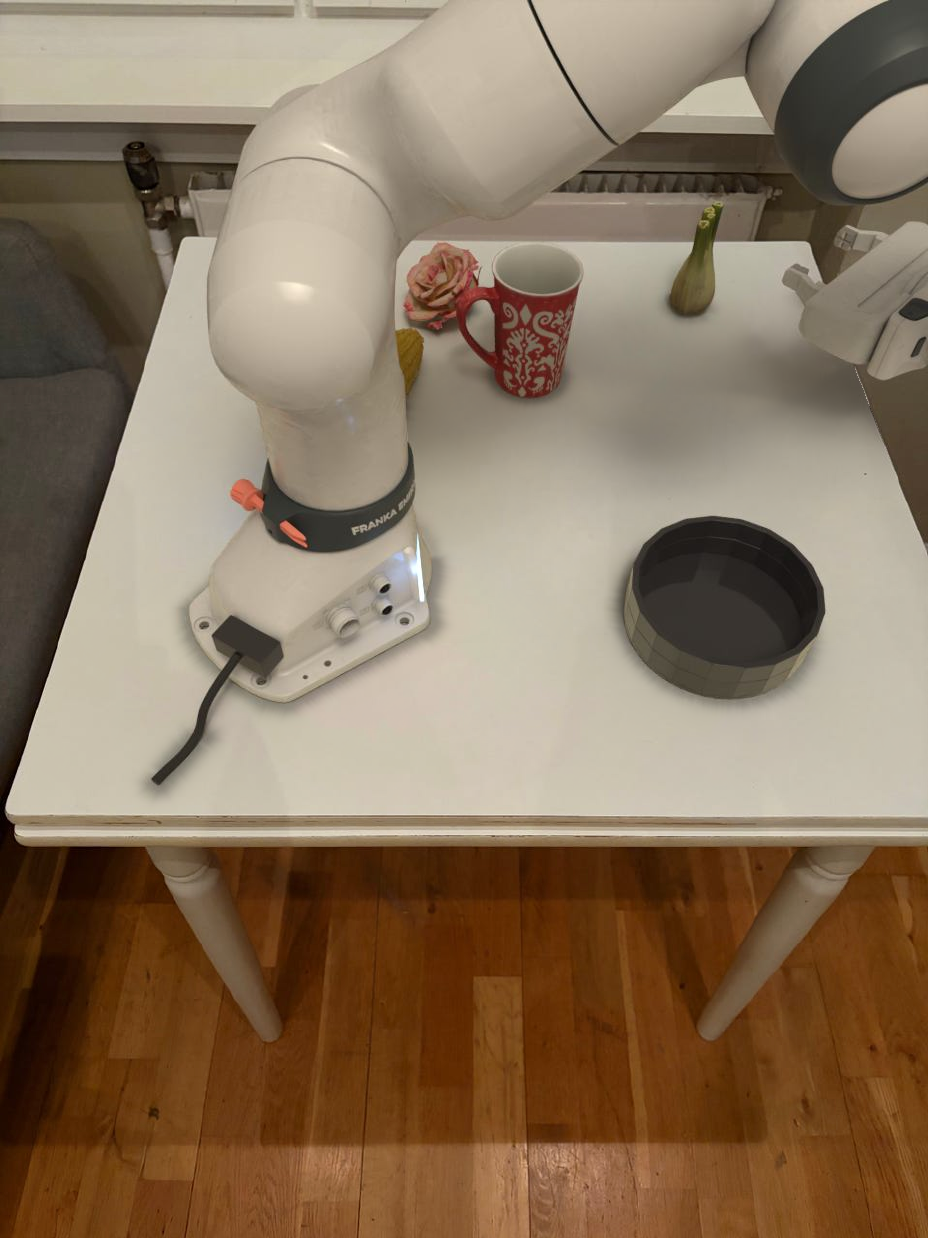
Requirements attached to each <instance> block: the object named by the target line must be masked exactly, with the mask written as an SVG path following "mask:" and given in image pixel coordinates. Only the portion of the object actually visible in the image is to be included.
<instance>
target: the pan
mask: <svg viewBox="0 0 928 1238" xmlns="http://www.w3.org/2000/svg"><path fill="white" fill-rule="evenodd" d="M624 597H625V598H624V605H623V617H624V618H623V620H624V627H625V631H626V633H627V636H628V639H629V641H630V644H631V645H632V647H633V649H634V651H635V652H636V653H637V654H638V656H639V658H640V659H641V660H642V661H643V662H644V663H645V664H646V665H647V667H648V668H650V669H651V670H652V671H653V672H654V673H655V674H656V675H657V676H659V677H660V678H662V679H663V680H665V681H667V682H668V683H670V684H671V685H673V686H675V687H677V688H679V689H680V690H681V689H682V690H684V691H686V692H689V693H691V694H695V695H698V696H702V697H706V698H713V699H720V700H721V699H722V700H741V699H742V700H743V699H749V698H753V697H757V696H759V695H763V694H766V693H768V692H770V691H773V690H775V689H776V688H778V687H779V686H781V685H782V684H784V683H785V682H786V681H787V680H789V678H791V677H792V676H793V674H795V672H796V671H797V670H798V669H799V667H800V666H801V665H802V664H803V662H804V660H805V658H806V657H807V654H808V653H809V651H810V649H811V647H812V646H813V644H814V643H815V640H816V639H817V637H818V635H819V632H820V630H821V627H822V624H823V621H824V617H825V616H826V613H827V612H826V611H827V610H826V601H825V600H826V599H825V588H824V585H823V584H822V582H821V580H820V578H819V575H818V573H817V571H816V570H815V567H814V566H813V564H812V562H810V560H809V559H807V557H806V556H805V555H804V554H803V553H802V551H801V550H799V548H797V547H796V545H794V543H792V542H791V541H789V540H788V539H786V538H785V537H783V536H782V535H780V534H778V533H777V532H775V531H773V530H772V529H771V528H768V527H766V526H763V525H760V524H757V523H754V522H751V521H748V520H745V519H742V518H738V517H728V516H721V515H706V516H698V517H697V516H696V517H687V518H684V519H682V520H679V521H676V522H673V523H671V524H669V525H666V526H664V527H662V528H660V529H659V530H658V531H657V532H656V533H654V534H653V535H652V536H651V537H650V538H649V539H648V540H646V541H645V542H644V543H643V544H642V546H641V548H640V550H639V552H638V554H637V556H636V557H635V559H634V562H633V564H632V568H631V572H630V576H629V579H628V584H627V588H626V592H625V596H624Z"/></svg>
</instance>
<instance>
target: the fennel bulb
mask: <svg viewBox="0 0 928 1238" xmlns="http://www.w3.org/2000/svg"><path fill="white" fill-rule="evenodd" d="M724 206H725V205H724V202H723V201H720V200H716V201H714V202H713V203H712V204H711V206H708V207H706V208H704V209H703V211H702V213H701V220H699V221H698V222H697V225H696V228H695V234H694V239H693V244H692V249H691V252H690V253H689V255H688V257H687V258H686V259H685V261H684V262H683V264H682V266H681V267H680V269H679V270H678V272H677V274H676V276H675V278H674V279H673V283H672V285H671V289H670V293H669V295H668V302H669V304H670V306H671V308H672V309H673V310H674V311H677V312H679V313H680V314H683V315H695V314H701V313H703V312H704V311H706V310H707V309H708V308H709V307H710V305H711V304H712V302H713V300H714V297H715V294H716V273H715V265H714V244H715V240H716V235H717V231H718V228H719V224H720V221H721V217H722V213H723V209H724Z"/></svg>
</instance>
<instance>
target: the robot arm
mask: <svg viewBox="0 0 928 1238" xmlns="http://www.w3.org/2000/svg"><path fill="white" fill-rule="evenodd" d="M743 77H744V80H745V82H746V85H747V86H748V89H749V91H750V94H751V95H752V97H753V100H754V102H755V104H756V105H757V107H758V109H759V111H760V113H761V115H762V117H763V118H764V120H765V122H766V123H767V125H768V127H769V128H770V131H771V132H772V133H773V137H774V144H775V148H776V151H777V153H778V156H779V157H780V159H781V161H782V162H783V163H784V164H785V166H786V167H787V169H788V170H789V171H790V173H791V174H792V175H793V177H794V178H795V179H796V181H797V182H798V183H799V184H800V185H801V187H803V188H804V189H805V190H806V191H807V192H808V193H810V194H811V195H812V196H813V197H814V198H815V199H817V200H818V201H821V202H822V203H825V204H828V205H831V206H838V207H852V206H868V205H877V204H882V203H887V202H889V201H893V200H896V199H899V198H901V197H904V196H906V195H908V194H910V193H912V192H915V191H916V190H918V189H920V188H922V187H923V186H925V185H926V184H928V0H448V1H447V2H445V3H444V4H442V6H440V7H439V8H438V9H437V10H436V11H434V12H433V13H432V14H431V15H429V16H428V17H427V18H426V19H424V20H423V22H421V23H420V24H418V25H417V26H416V27H415V28H413V30H410V31H409V32H408V33H407V34H405V35H404V36H403V37H402V38H400V39H399V40H397V41H396V42H394V43H393V44H391V45H390V46H388V47H387V48H384V49H383V50H381V51H380V52H378V53H377V54H375V55H372V57H369V58H368V59H366V60H364V61H362V62H360V63H357V64H356V65H354V66H352V67H350V68H349V69H347V70H345V71H343V72H341V73H338V74H337V75H335V76H334V77H333V76H332V77H331V78H329V79H327V80H326V81H324V82H322V83H314V84H306V85H303V86H299V87H296V88H293V89H291V90H289V91H287V92H286V93H284V94H283V95H282V96H280V97H279V98H278V99H276V101H275V102H274V103H273V104H272V105H271V106H270V107H269V108H268V110H267V111H266V112H265V113H264V114H263V116H262V117H261V119H259V121H258V123H256V125H255V127H254V128H253V129H252V131H251V133H250V134H249V136H248V137H247V139H246V140H245V142H244V144H243V147H242V149H241V152H240V155H239V160H238V164H237V168H236V172H235V175H234V178H233V182H232V186H231V190H230V193H229V197H228V200H227V203H226V206H225V208H224V212H223V215H222V218H221V221H220V222H221V223H220V225H219V230H218V234H217V237H216V241H215V244H214V248H213V251H212V252H213V253H212V254H211V255H212V256H211V259H210V263H209V267H208V271H207V276H206V317H207V319H206V320H207V333H208V341H209V347H210V352H211V355H212V358H213V360H214V363H215V365H216V366H217V368H218V370H219V371H220V373H221V374H222V376H223V377H224V378H225V380H226V381H227V382H228V383H229V384H230V385H231V386H232V387H233V388H234V389H236V390H237V391H238V392H239V393H240V394H242V395H243V396H245V397H246V398H248V399H250V400H251V401H253V402H254V403H255V406H256V410H257V414H258V417H259V418H258V419H259V422H260V427H261V431H262V436H263V441H264V445H265V448H266V449H265V450H266V453H267V459H266V464H265V467H264V471H263V477H262V482H261V488H260V489H259V488H257V487H256V486H255V485H254V484H253V482H252V481H251V480H249V479H247V478H241V479H239V480H237V481H236V482H234V484H233V485H232V486H231V488H230V491H229V493H230V495H229V496H230V497H231V499H232V500H233V501H234V502H235V503H237V504H239V505H241V506H242V508H243V509H244V511H246V512H250V513H249V514H248V516H247V517H246V518H245V520H244V521H243V522H242V524H241V525H240V527H239V528H238V529H237V530H236V532H235V533H234V535H233V536H232V537H231V539H229V541H228V542H227V544H226V545H225V546H224V548H223V549H222V551H221V552H220V554H218V556H217V557H216V559H215V560H214V561H213V563H212V565H211V567H210V570H209V571H210V572H209V579H208V580H209V581H208V585H207V586H206V587H205V589H204V588H203V590H202V591H201V592H200V593H199V594H198V595H197V596H196V597H195V598H194V599H193V600H192V601H191V602H190V604H189V607H188V615H189V623H190V627H191V630H192V633H193V635H194V637H195V640H196V642H197V644H198V645H199V646H200V648H201V650H202V651H203V652H204V653H205V655H206V656H207V658H208V659H209V660H211V662H212V663H213V664H214V665H215V666H216V667H217V668H218V669H219V670H220V672H219V674H218V675H217V676H216V678H215V679H214V681H213V682H212V684H211V685H210V687H209V688H208V690H207V692H206V694H205V696H204V698H203V699H202V701H201V704H200V706H199V709H198V713H197V716H196V723H195V726H194V729H193V732H192V734H191V735H190V737H189V738H188V740H187V741H186V742H185V744H184V745H183V747H182V748H181V749H179V751H178V752H177V753H176V754H175V755H174V756H173V757H172V758H171V759H170V760H169V761H168V762H167V763H165V764H164V765H163V766H162V767H161V768H160V769H159V770H158V771H157V772H156V773H155V774H154V775H153V776H152V777H151V778H150V780H151V781H152V782H153V783H154V784H155V785H157V786H158V785H160V784H161V783H162V782H163V780H165V778H166V777H168V776H169V775H170V774H171V773H172V772H173V771H174V770H176V769H177V767H178V766H179V765H180V764H181V763H183V761H185V760H186V758H187V757H188V756H189V755H190V754H191V753H192V751H193V750H194V749H195V747H196V746H197V745H198V743H199V742H200V740H201V738H202V736H203V734H204V731H205V727H206V722H207V718H208V713H209V711H210V709H211V706H212V705H213V702H214V700H215V698H216V697H217V695H218V694H219V691H220V690H221V689H222V687H223V686H224V684H225V682H226V681H227V680H228V679H230V680H231V681H232V682H234V683H235V684H236V685H238V686H239V687H240V688H242V689H244V690H245V691H247V692H249V693H251V694H252V695H255V696H257V697H258V698H259V697H260V698H262V699H265V700H267V701H272V702H276V703H282V704H285V703H287V704H288V703H290V702H292V701H295V700H297V699H298V698H300V697H302V696H304V695H306V694H308V693H309V692H311V691H314V690H316V689H317V688H319V687H321V686H322V685H325V684H327V683H328V682H330V681H332V680H334V679H336V678H337V677H339V676H342V675H343V674H345V673H347V672H349V671H351V670H353V669H355V668H356V667H358V666H359V665H361V664H363V663H365V662H367V661H369V660H371V659H372V658H374V657H376V656H378V655H380V654H382V653H384V652H385V651H387V650H389V649H391V648H393V647H395V646H397V645H399V644H400V643H402V642H405V641H407V640H408V639H410V638H412V637H413V636H416V635H417V634H419V633H421V632H423V631H424V630H426V629H427V628H428V627H429V625H430V622H431V612H430V608H429V604H428V599H427V596H428V591H429V588H430V584H431V580H432V574H433V573H432V572H433V561H432V558H431V553H430V551H429V548H428V546H427V544H426V542H425V540H424V539H423V536H422V534H421V532H420V531H421V530H420V528H419V525H418V522H417V516H416V513H415V508H414V500H415V496H416V484H417V482H416V472H415V461H414V453H413V449H412V447H411V445H410V442H409V440H408V425H407V424H408V422H407V421H408V420H407V403H406V399H405V382H404V375H403V372H402V370H401V368H400V364H399V358H398V350H397V341H396V315H395V313H396V312H395V311H396V310H395V309H396V307H395V306H396V279H397V278H396V277H397V264H398V263H397V262H398V260H399V258H400V257H401V255H402V253H403V252H404V250H406V248H407V247H408V246H409V244H411V242H412V241H413V240H414V239H416V238H417V237H418V236H419V235H421V234H423V233H424V232H426V231H428V230H430V229H432V228H435V227H438V226H441V225H443V224H446V223H449V222H451V221H455V220H457V219H461V218H465V217H470V216H471V217H473V218H476V219H480V220H483V221H489V222H498V221H505V220H507V219H510V218H513V217H515V216H516V215H518V214H520V213H521V212H523V211H524V210H525V209H527V208H529V207H530V206H532V205H533V204H534V203H537V201H539V200H541V199H542V198H543V197H545V196H546V195H548V194H550V193H551V192H552V191H554V190H555V189H557V188H558V187H560V186H562V185H563V184H564V183H566V182H567V181H569V180H570V179H572V178H573V177H575V176H576V175H579V173H581V172H582V171H584V170H585V169H587V168H588V167H590V166H591V165H593V164H594V163H596V162H597V161H599V160H600V159H602V158H604V157H605V156H606V155H608V154H609V153H611V152H613V151H615V150H616V149H617V148H618V147H620V146H621V145H623V144H624V143H627V141H629V140H630V139H632V138H633V137H634V136H636V135H637V134H638V133H640V132H642V131H643V130H644V129H646V128H647V127H649V126H650V125H651V124H653V123H654V122H655V121H657V120H658V119H660V117H662V116H663V115H664V114H666V113H667V112H668V111H669V110H671V109H672V108H673V107H675V106H676V105H677V104H678V103H680V102H681V101H682V100H683V99H684V98H686V97H688V95H690V93H692V92H693V91H694V90H695V89H697V88H699V87H701V86H704V85H707V84H710V83H714V82H717V81H722V80H727V79H731V78H733V79H734V78H743ZM833 245H834V246H835V247H836V248H840V249H841V250H842V251H845V252H849V251H850V250H855V251H859V252H864V253H866V254H864V255H863V256H862V257H860V258H859V259H857V261H855V262H854V263H852V264H851V265H850V266H849V267H848V268H846V269H845V270H844V271H843V272H841V273H840V274H839V275H838V276H836V277H835V278H833V280H831V281H830V282H829V283H828V284H826V283H824V282H823V281H820V280H818V281H816V283H815V281H813V279H812V278H811V277H810V276H809V272H810V269H809V268H807V267H805V266H802V265H801V264H799V263H794V264H792V265H791V266H790V267H788V268H787V269H786V270H785V271H784V273H783V276H782V279H781V283H782V285H783V286H785V287H786V288H789V289H791V290H793V291H795V294H796V295H797V296H798V298H799V299H800V302H801V303H802V304H803V310H802V312H801V314H800V318H799V321H798V325H797V327H798V331H799V333H800V334H801V336H802V337H803V339H805V340H806V341H807V342H809V343H811V344H812V345H813V346H815V347H818V348H819V349H821V350H822V351H825V352H826V353H829V354H830V355H832V356H834V357H836V358H838V359H841V360H842V361H844V362H848V363H849V364H853V365H865V364H868V366H867V369H866V372H867V374H869V375H870V376H871V377H873V378H874V379H877V380H879V381H887V380H890V379H892V378H895V377H898V376H900V375H904V374H906V373H909V372H913V371H916V370H922V369H925V368H926V367H927V366H928V224H927V223H925V222H922V221H916V220H915V221H913V220H910V221H909V220H908V221H907V222H905V223H904V224H902V225H901V226H900V227H898V228H897V229H896V230H895V231H894V232H892V233H891V234H888V233H885V232H883V231H879V230H866V229H865V230H864V229H858V228H856V227H854V226H852V225H851V224H846V225H844V226H842V227H841V228H840V229H839V230H838V231H837V232H836V234H835V237H834V239H833ZM403 623H407V624H403ZM204 627H207V628H204ZM261 682H265V683H263V684H259V683H261Z"/></svg>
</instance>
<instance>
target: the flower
mask: <svg viewBox="0 0 928 1238" xmlns="http://www.w3.org/2000/svg"><path fill="white" fill-rule="evenodd" d="M481 270H482V267H480V266H479V261H478V260H476V257H475V256H474V255H473V253H472V252H471V251H470V249H464V248H461V247H457V246H455V245H452V244H450V243H448V242H445V241H444V242H436V244H435V245H434V246H433V248H432V249H431V250H430V252H429V253H428V254H425V255H423V256H421V257H420V259H419V262H418V263H416V264H415V265H413V266H412V267H411V268H410V270H409V271H408V273H407V275H406V283H407V285H408V288H409V290H408V293H407V295H406V298H405V301H404V303H403V305H402V307H403V308H405V309H406V310H404V311H405V314H406V315H407V316H408V318H409V320H413V321H418V322H425V321H429V320H432V319H434V318H435V317H436V316H440V317H441V320H439V321H438V320H437V321H435V320H434V321H430V323H428V324H427V325H426V328H427V329H432V330H434V329H436V330H440V329H443V324H444V323H445V322H448V321H449V320H451V319H453V318H456V308H457V303H458V301H459V298H460V297H461V295H462V294H463V293H464V292H466V291H467V290H469V289H471V288H473V287H479V285H480V281H479V279H480V274H481ZM474 271H478V272H477V273H478V276H477V277H476V275H475V272H474ZM473 308H474V306H473V304H472V305H471V307H470V308H469V309H468V311H467V312H469V311H472V310H473Z"/></svg>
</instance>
